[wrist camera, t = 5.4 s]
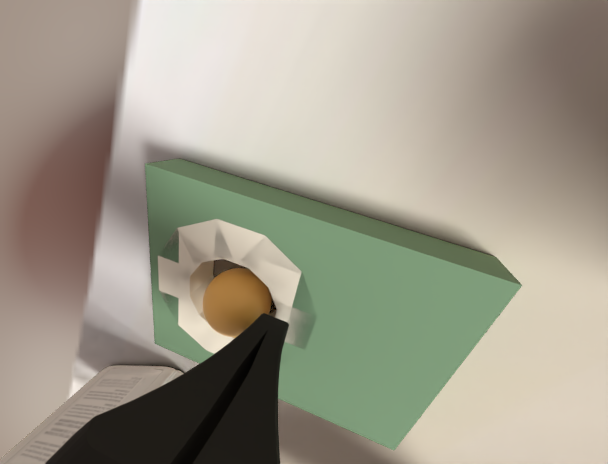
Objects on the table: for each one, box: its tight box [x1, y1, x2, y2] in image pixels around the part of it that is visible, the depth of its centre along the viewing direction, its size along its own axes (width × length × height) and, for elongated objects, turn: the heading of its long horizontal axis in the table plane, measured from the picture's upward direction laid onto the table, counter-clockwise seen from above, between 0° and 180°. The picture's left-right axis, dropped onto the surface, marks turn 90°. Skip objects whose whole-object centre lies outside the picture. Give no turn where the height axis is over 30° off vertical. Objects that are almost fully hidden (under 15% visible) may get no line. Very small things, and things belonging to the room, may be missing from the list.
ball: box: [203, 268, 272, 337], centre depth 13 cm, size 4×4×4 cm
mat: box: [145, 158, 522, 450], centre depth 14 cm, size 16×12×2 cm
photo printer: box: [0, 365, 184, 464], centre depth 17 cm, size 10×4×12 cm, turn 108°
